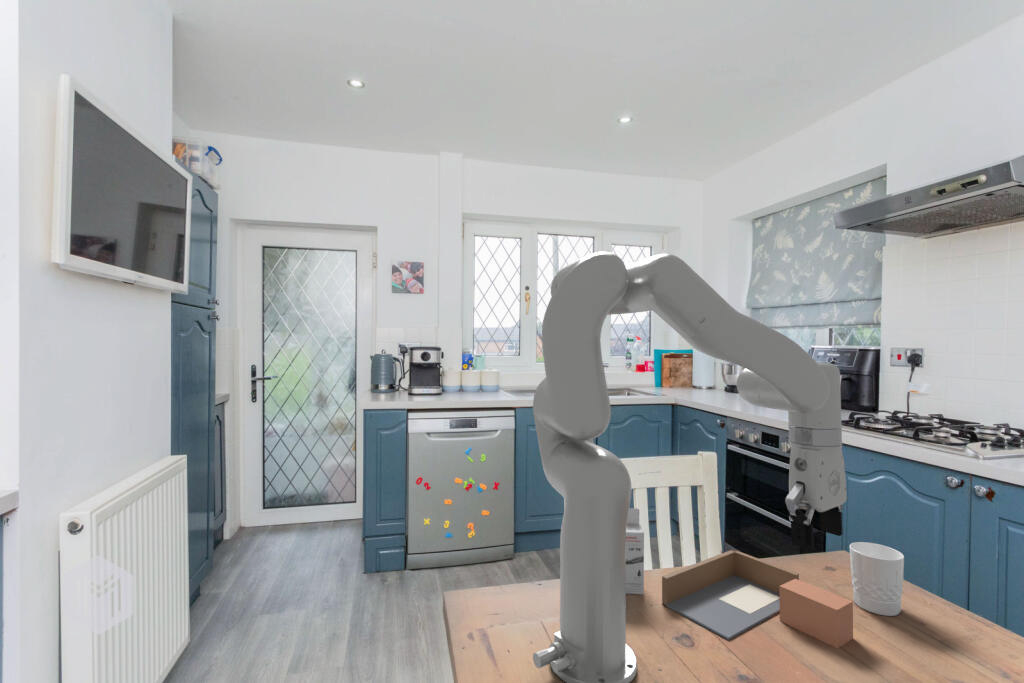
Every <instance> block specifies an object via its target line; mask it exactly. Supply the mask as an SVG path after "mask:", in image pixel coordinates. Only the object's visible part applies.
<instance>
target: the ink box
mask: <svg viewBox="0 0 1024 683" xmlns="http://www.w3.org/2000/svg"><path fill="white" fill-rule="evenodd" d="M644 582H645V531H644V530H643V527H642V526H641V524H640V509H639V508H637V507H634V508H633V507H629V511H628V517H627V525H626V595H628V594H629V595H644V594H645V583H644Z"/></svg>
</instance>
